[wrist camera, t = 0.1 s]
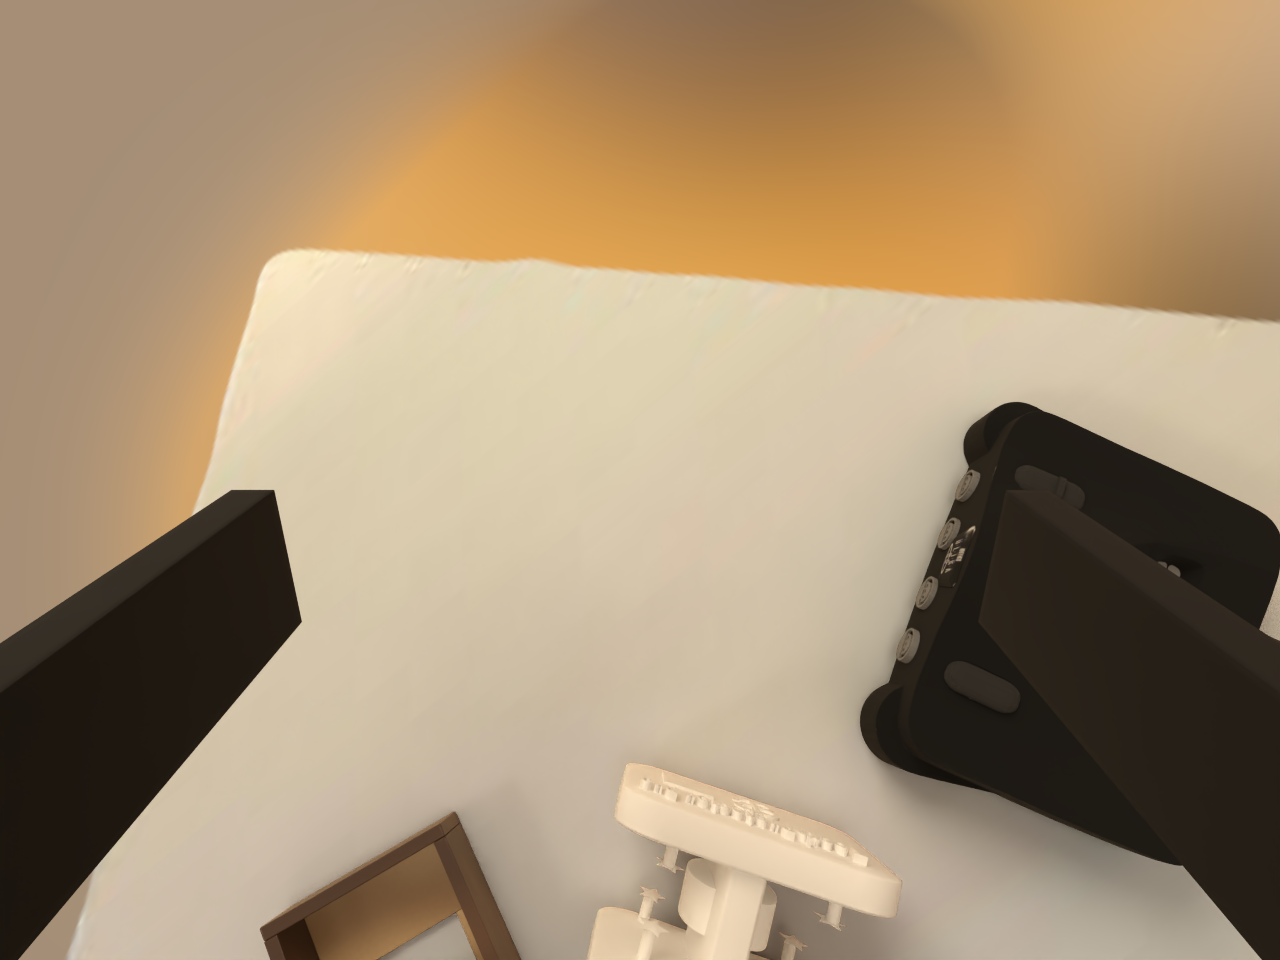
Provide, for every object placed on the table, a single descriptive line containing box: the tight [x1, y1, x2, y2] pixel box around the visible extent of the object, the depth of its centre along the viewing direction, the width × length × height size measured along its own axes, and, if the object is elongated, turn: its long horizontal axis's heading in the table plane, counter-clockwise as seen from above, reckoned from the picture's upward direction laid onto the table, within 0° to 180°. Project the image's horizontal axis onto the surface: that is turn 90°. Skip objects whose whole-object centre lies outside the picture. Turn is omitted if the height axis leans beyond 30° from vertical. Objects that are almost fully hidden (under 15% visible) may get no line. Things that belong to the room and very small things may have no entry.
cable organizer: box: [587, 763, 902, 960], centre depth 38 cm, size 15×11×12 cm
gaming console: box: [860, 402, 1280, 866], centre depth 44 cm, size 27×20×7 cm
